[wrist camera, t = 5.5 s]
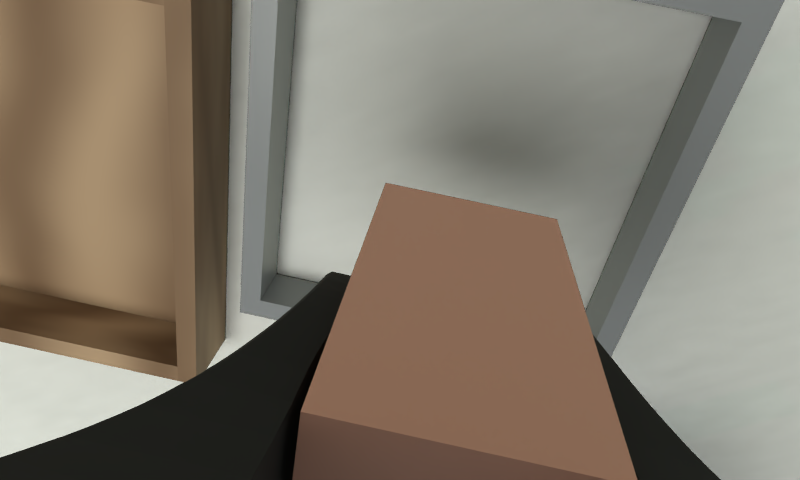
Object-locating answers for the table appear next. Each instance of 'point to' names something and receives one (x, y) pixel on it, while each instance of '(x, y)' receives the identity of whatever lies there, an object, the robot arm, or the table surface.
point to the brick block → (460, 355)
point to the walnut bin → (115, 180)
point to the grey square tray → (648, 215)
